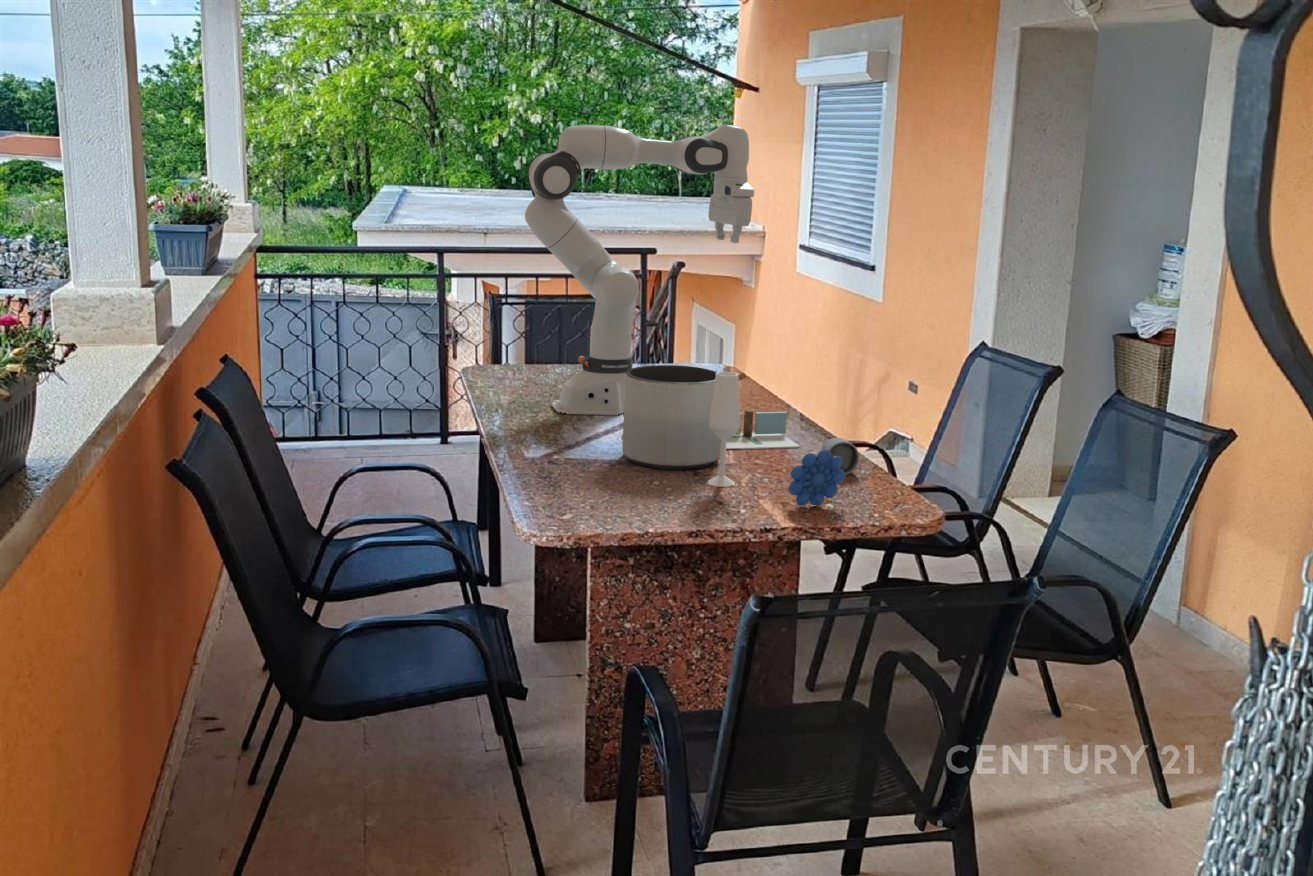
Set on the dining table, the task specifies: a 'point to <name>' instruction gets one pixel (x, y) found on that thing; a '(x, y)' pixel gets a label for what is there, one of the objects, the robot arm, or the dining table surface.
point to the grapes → (816, 478)
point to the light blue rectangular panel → (770, 422)
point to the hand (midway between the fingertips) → (727, 241)
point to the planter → (669, 417)
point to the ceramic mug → (843, 453)
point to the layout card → (760, 442)
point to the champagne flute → (724, 417)
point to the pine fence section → (746, 423)
